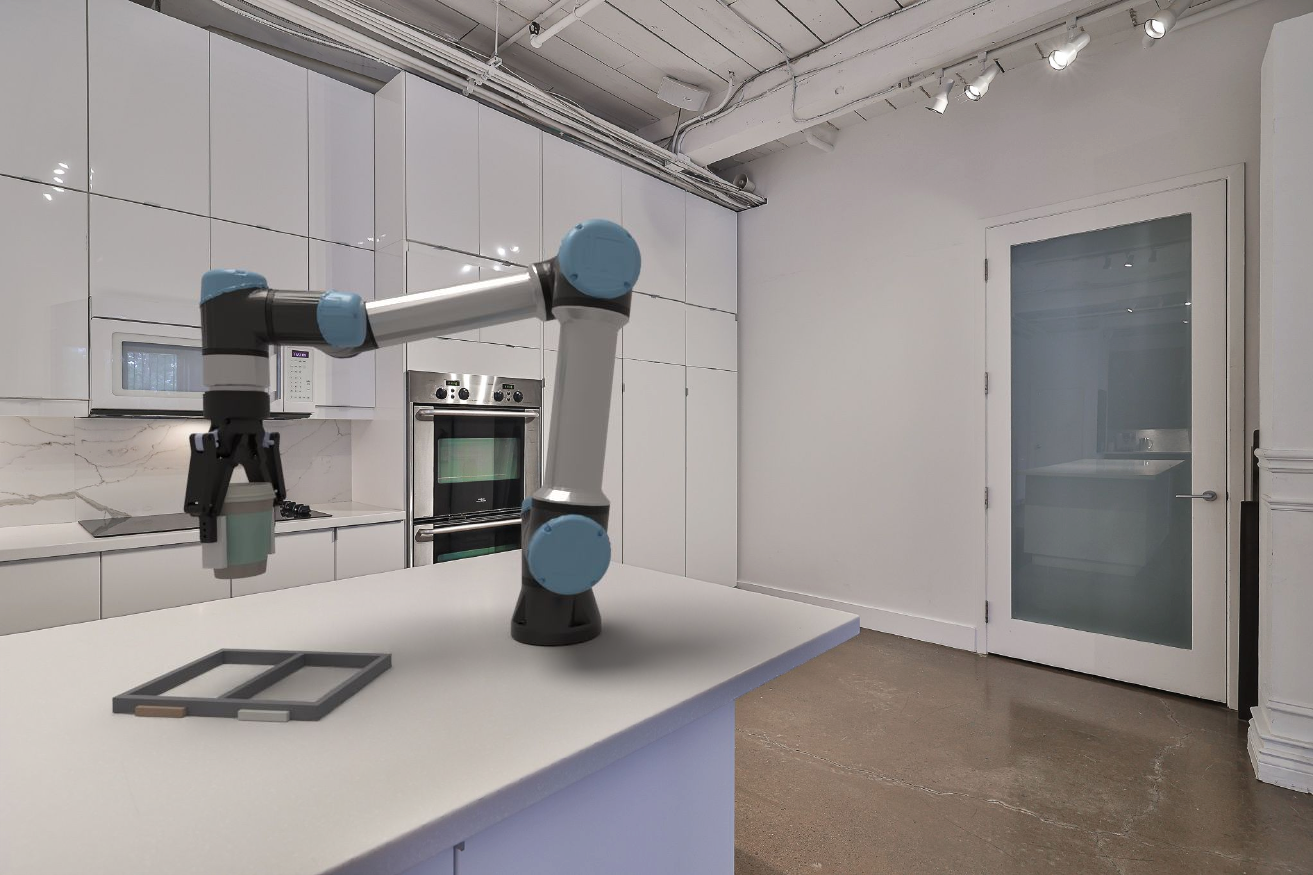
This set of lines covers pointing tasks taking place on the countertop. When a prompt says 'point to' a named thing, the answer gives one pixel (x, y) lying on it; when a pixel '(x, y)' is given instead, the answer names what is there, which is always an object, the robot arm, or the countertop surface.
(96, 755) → the countertop surface
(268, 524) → the coffee cup
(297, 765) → the countertop surface
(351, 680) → the divided tray
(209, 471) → the robot arm
